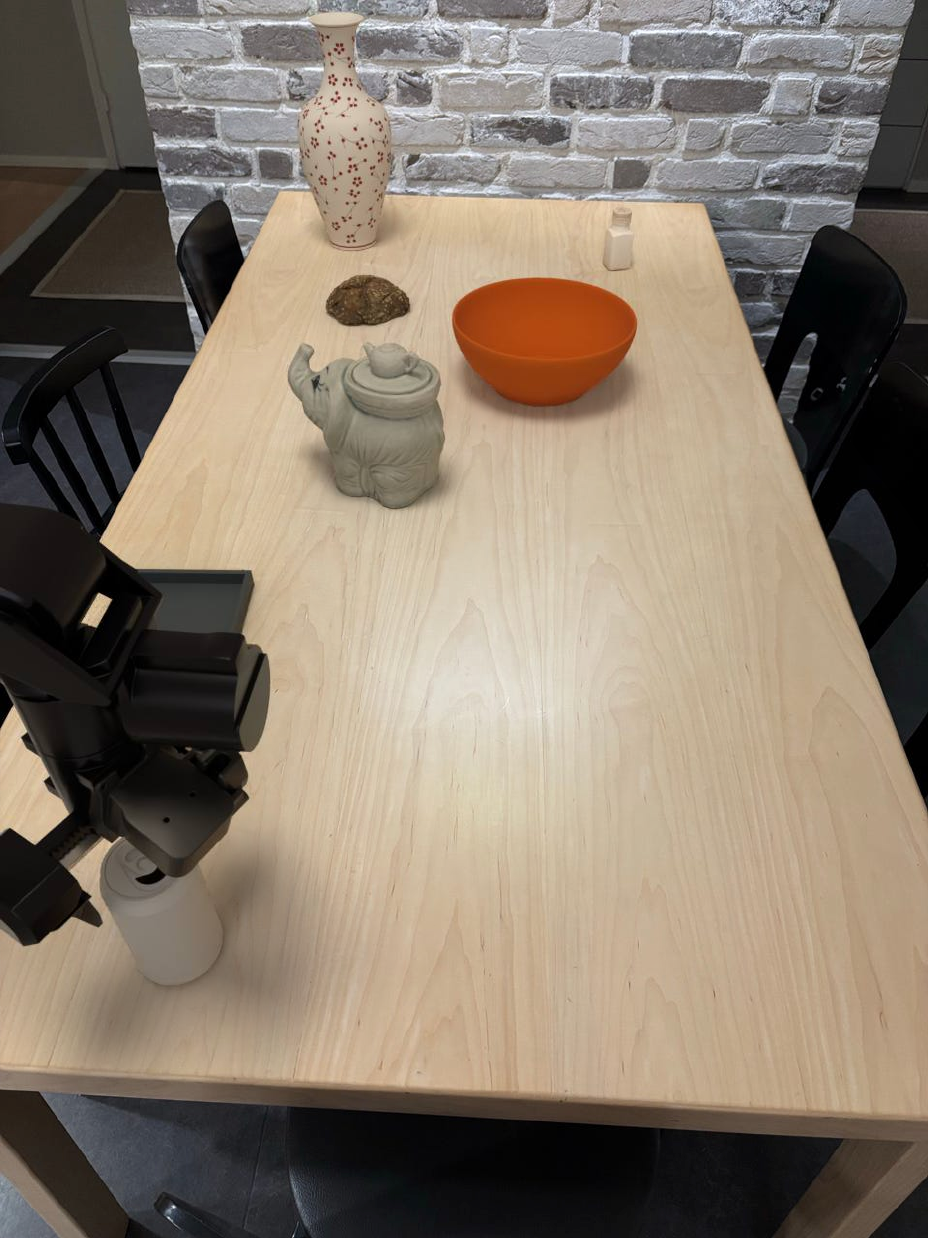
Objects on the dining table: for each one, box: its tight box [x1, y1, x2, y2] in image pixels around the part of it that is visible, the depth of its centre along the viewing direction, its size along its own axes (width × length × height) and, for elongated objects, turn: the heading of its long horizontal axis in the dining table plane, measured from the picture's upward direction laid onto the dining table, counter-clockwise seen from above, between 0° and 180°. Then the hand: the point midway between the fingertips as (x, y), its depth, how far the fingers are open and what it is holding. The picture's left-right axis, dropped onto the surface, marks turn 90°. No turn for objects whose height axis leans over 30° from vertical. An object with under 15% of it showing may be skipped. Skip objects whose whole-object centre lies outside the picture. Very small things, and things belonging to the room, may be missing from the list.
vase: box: [297, 11, 392, 251], centre depth 156 cm, size 16×16×35 cm
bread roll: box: [325, 274, 411, 326], centre depth 146 cm, size 13×12×5 cm
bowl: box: [451, 276, 638, 408], centre depth 127 cm, size 25×25×10 cm
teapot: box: [287, 341, 446, 509], centre depth 106 cm, size 16×15×19 cm
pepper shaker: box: [602, 206, 635, 271], centre depth 157 cm, size 4×4×10 cm
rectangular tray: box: [136, 568, 255, 634], centre depth 92 cm, size 17×13×2 cm
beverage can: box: [98, 837, 224, 986], centre depth 64 cm, size 6×6×12 cm
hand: (149, 868), depth 62 cm, fingers open, 9 cm apart
